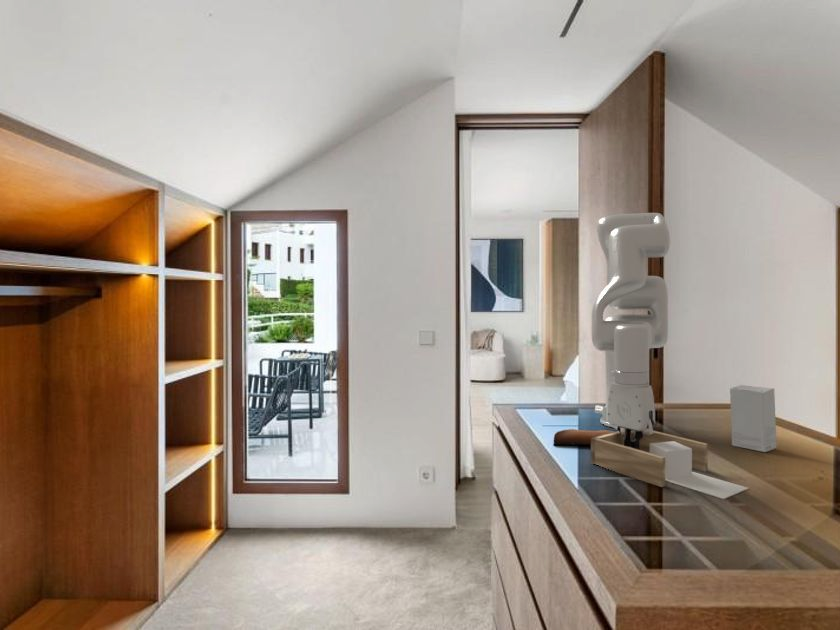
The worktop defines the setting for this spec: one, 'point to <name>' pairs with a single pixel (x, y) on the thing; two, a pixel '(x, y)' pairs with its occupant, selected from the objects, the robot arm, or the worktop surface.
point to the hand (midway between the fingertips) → (631, 456)
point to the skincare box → (753, 418)
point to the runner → (708, 485)
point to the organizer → (642, 456)
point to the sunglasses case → (577, 436)
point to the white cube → (674, 458)
